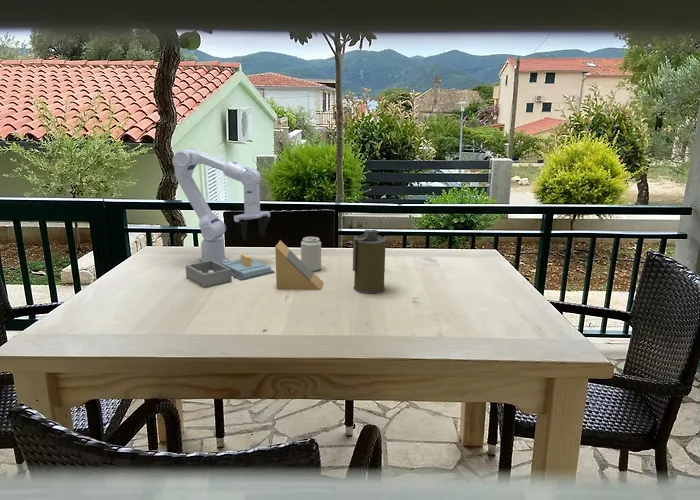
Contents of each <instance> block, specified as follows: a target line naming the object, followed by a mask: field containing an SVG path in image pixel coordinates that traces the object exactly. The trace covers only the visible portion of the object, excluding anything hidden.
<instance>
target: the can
mask: <svg viewBox="0 0 700 500" xmlns="http://www.w3.org/2000/svg"><path fill="white" fill-rule="evenodd" d="M300 260H301V261H302V262H303V263H304V264H305V265H306V266H307V267H308V268H309V269H310V270H311V271H312V272H313V273H314V272H317V271H319V270H320V269H321V268H322V242H321V240H320V238H319V237H316V236H306V237H303V238H302V240H301V242H300Z"/></svg>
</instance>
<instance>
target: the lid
mask: <svg viewBox="0 0 700 500" xmlns="http://www.w3.org/2000/svg"><path fill="white" fill-rule="evenodd" d="M221 265H223V266H225V267H227V268H229V269H231V272H232V273H234V274H236V275H238V276H240V277H242V278H247V277H251V276H256V275H260V274H264V273H268V272H271V270H272V266H269V265H267V264H264V263H262V262H259V261H258V260H256V259H253V258H252V257H251V256H249V255H248V254H247V255H246V254H244V253H243V254H240V259H236V260H231V261H230V260H229V262H225V263H221Z"/></svg>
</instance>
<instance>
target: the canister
mask: <svg viewBox="0 0 700 500" xmlns="http://www.w3.org/2000/svg"><path fill="white" fill-rule="evenodd" d="M378 234H380V231H378V230H377V229H365V230H364V233H363V234H361V235H358V236H356V237H354V238H353V239H352V240H353V241H352V242H353V243H352V246H353V247H352V271H353V272H354V282H353V283H354V284H353V289H354V291H356V292H358V293H360V294H368V295H369V294H370V295H372V294H380V293H381V292H383V291H384V290H385V288H386V287H385V271H386V269H385V268H386V267H385V266H386V246H387V245H386V243H387V238H386V237H384V236H381V235H378Z"/></svg>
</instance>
